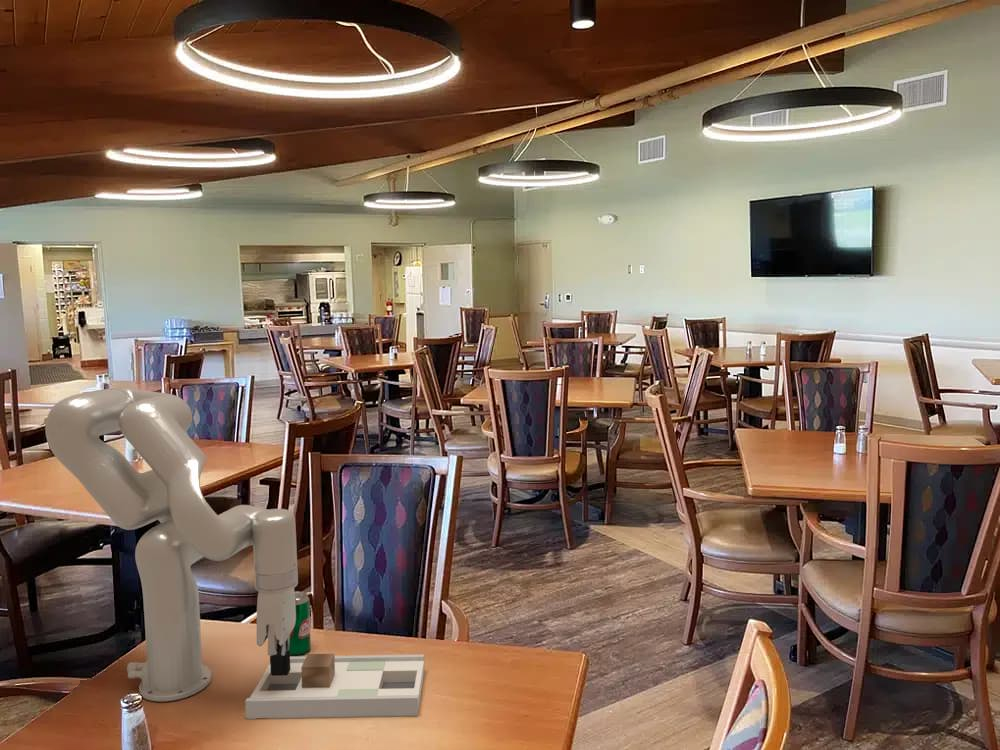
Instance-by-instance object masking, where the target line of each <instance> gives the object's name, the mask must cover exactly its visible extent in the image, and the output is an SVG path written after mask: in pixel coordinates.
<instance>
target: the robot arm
mask: <svg viewBox="0 0 1000 750" xmlns="http://www.w3.org/2000/svg"><path fill="white" fill-rule="evenodd" d="M192 423H193V413H192V411H191V408H190V406H189V404H188V403H187V402H186V401H185V400H184V399H182V398H181V397H179V396H178V395H175V394H171V393H167V392H165V393H164V392H160V391H159V392H158V391H151V390H143V389H137V388H130V387H112V388H111V387H110V388H105V389H100V390H94V391H88V392H83V393H78V394H73V395H70V396H68V397H64V398H63V399H61V400H59V401H58V402H57V403H55V404H54V405H53V406H52V407H51V408H50V410H49V412H48V415H47V417H46V420H45V437H46V440H47V441H46V442H47V445H48V447H49V449H50V451H51V452H52V454H53V456H54V457H55V458H56V459H57V460H58V461H59V463H61V465H62V466H63V467H65V468H66V469H67V470H68V471H69V472H70V473H71V474H72V475H73V476H74V477H75V478H76V479H77V480H78V482H80V483H81V485H82V486H83V487H84V488H85V490H86V491H87V493H89V495H90V496H91V497H92V498H93V500H94V501H96V503H97V504H98V506H99V507H100V508H101V509H102V510H103V511H104V513H105V514H106V515H107V516H108V517H109V518H110V520H111V521H112V522H113V523H114V524H115V525H116V526H118V527H119V528H120V529H123V530H127V531H130V530H131V531H133V530H137V529H139V528H142V527H144V526H146V525H149V524H151V523H153V522H156V521H157V520H158V521H159V522H160V523H159V524H157V525H156V526H154V527H152V528H150V529H149V530H148V531H146V532H145V533H144V534H143V535H141V537H140V539H139V540H138V542H137V544H136V547H135V551H134V556H135V563H136V567H137V571H138V574H139V578H140V583H141V588H142V599H143V602H142V603H143V612H144V613H143V615H144V616H143V617H144V629H145V631H144V632H145V634H144V635H145V646H146V647H145V648H146V649H145V650H146V661H145V662H139V661H138V662H137V661H136V662H129V663H128V664H127V668H126V672H127V678H128V679H140V680H141V681H140V683H139V687H138V690H139V694H141V695H142V696H143V697H142V696H141V695H140V696H141V697H142V698H143V699H145V700H148V701H151V702H172V701H177V700H182V699H185V698H188V697H191V696H194V695H195V694H197V693H199V692H201V691H202V690H204V689H205V688H206V687H207V686H208V685H209V684H210V683H211V681H212V670H211V669H210V668H209V667H208V666H206V665H204V664H203V657H202V656H203V655H202V654H203V653H202V633H201V615H200V614H201V613H200V597H199V595H200V594H199V587H198V584H197V581H196V578H195V577H194V575H193V573H192V568H191V565H194V564H195V563H196V562H197V561H199V560H200V559H202V558H205V559H208V560H211V561H216V562H220V561H224V560H227V559H229V558H231V557H233V556H235V555H236V554H237V553H239V552H240V551H241V550H243V549H246V548H248V547H250V546H252V547H253V550H252V551H253V565H254V566H253V567H254V568H253V570H254V589H255V590H256V592H257V593H258V594H257V603H256V645H257V646H258V647H261V646H264V644H265V642H266V641H267V655H268V656H269V664H270V668H271V675H272V676H281V675H288V673H289V671H290V657H291V655H290V651H286V650H289V647H290V634H291V632H292V630H293V628H294V626H295V623H296V604H295V592H296V591H295V588H296V587H297V586H298V584H299V580H298V579H299V575H298V574H299V573H298V554H297V553H298V552H297V551H298V550H297V548H298V547H297V531H296V530H297V529H296V528H297V527H296V525H297V524H296V517H295V514H294V512H292V511H291V510H289V509H285V508H270V509H268V508H263V507H258V506H255V505H249V504H239V505H235V506H233V507H232V508H230V509H228V510H226V511H224V512H222V513H220V514H217V512H215V511H214V510H213V508H212V507H211V506H210V504H209V503H208V502H207V501H206V499H205V497H204V495H203V492H202V489H201V476H202V472H203V468H204V467H205V465H206V462H207V457H206V454H205V453H204V452H203V451H202V450H201V449H200V448H199V446H198V445H197V443H195V442H194V440H193V439H192V438H191V437H190V436H189V434H188V433H187V432H188V430H189V429H190V428H191V425H192ZM118 431H120V432H121V434H122V436H124V438H125V439H126V440H127V441H128V443H130V444H129V445H131V446H132V447H133V449H134V450H135V451H136V452H137V453H138V454H139V456H140V457H141V458H142V459H143V460H144V461H145V462H146V463H147V465H148V466H149V467H150V468H151V470H148V471H144V472H139V471H138V470H137V469H135V467H134V466H133V465H132V464H131V463H130V462H129V460H128V459H127V458H126V456H125V455H123V453H121V451H119V450H118V449H116V448H115V447H113V446H112V445H110V444H108V443H106V442H105V441H103V440H102V439H100V436H105V435H108V434H111V433H115V432H118Z"/></svg>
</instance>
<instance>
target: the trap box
mask: <svg viewBox="0 0 1000 750" xmlns="http://www.w3.org/2000/svg"><path fill="white" fill-rule="evenodd" d="M306 657H307V655H306V656H303V655H297V656H294V655H293V656H290V671H289V673H288V675H281V676H272V675H271V668H270V663H269V664H268V666H267V667H266V669H265V671H264V673H263V674H262V676H261V677H260V680H259V682H258V683H257V685H256V686H255V688H254V690H253V692H252V694H251V695H250V697H247V698H245V699H246V700H245V719H246V720H248V719H249V720H255V719H256V718H268V719H305V718H307V719H310V718H314V719H315V718H317V719H320V718H321V719H322V718H323V719H324V718H365V717H366V718H367V717H368V718H369V717H370V718H371V717H373V718H374V717H375V718H376V717H379V718H380V717H418V716H419V709H420V703H421V702H420V701H421V696H422V689H423V684H424V682H423V681H424V677H425V669H426V668H425V654H422V653H421V654H373V655H372V654H370V655H367V654H366V655H365V654H364V655H334V659H335V675H334V677H333V680H332V683H331V685H330V688H302V672H301V667H302V665H303V663H304V661H305V659H306ZM256 720H257V719H256Z"/></svg>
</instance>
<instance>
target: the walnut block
mask: <svg viewBox="0 0 1000 750" xmlns="http://www.w3.org/2000/svg"><path fill="white" fill-rule="evenodd" d="M306 654H307V655H306V656H307V657H306V659H305V661H304V663H303V665H302V667H301V672H302V688H330V685H331V683H332V680H333V677H334V675H335V659H334V656H335V653H306Z"/></svg>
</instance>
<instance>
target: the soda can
mask: <svg viewBox="0 0 1000 750" xmlns="http://www.w3.org/2000/svg"><path fill="white" fill-rule="evenodd" d="M294 592H295V604H296V623H295V626H294V628H293V630H292V632H291V634H290V647H289V650H286V651H290V656H293V657H294V656H303V655H305V654H308V652H309V651H310V650H311V648H312V647H311V646H312V645H311V615H310V614H311V611H310V598H309V597H308V593H307V592H304V591H294Z"/></svg>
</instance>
